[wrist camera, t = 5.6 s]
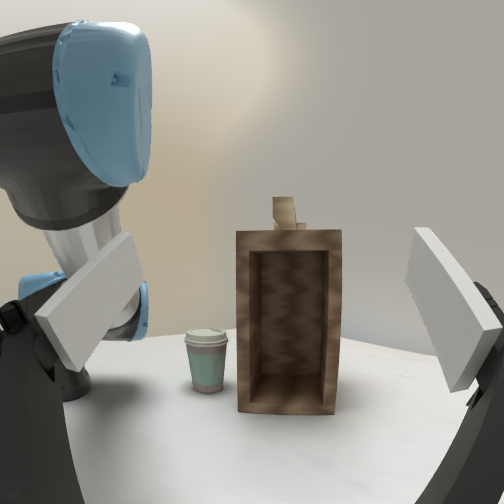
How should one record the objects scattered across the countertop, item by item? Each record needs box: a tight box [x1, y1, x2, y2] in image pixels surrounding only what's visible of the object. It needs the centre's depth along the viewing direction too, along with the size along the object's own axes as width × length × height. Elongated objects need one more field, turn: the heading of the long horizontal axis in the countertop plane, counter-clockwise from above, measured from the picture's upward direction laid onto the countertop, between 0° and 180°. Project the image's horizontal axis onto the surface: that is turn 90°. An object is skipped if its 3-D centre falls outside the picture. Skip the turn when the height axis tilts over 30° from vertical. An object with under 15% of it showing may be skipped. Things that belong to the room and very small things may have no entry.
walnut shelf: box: [236, 230, 342, 415], centre depth 52 cm, size 16×16×32 cm
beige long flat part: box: [273, 197, 306, 230], centre depth 45 cm, size 6×28×2 cm, turn 171°
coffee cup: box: [184, 327, 228, 393], centre depth 55 cm, size 9×8×12 cm
